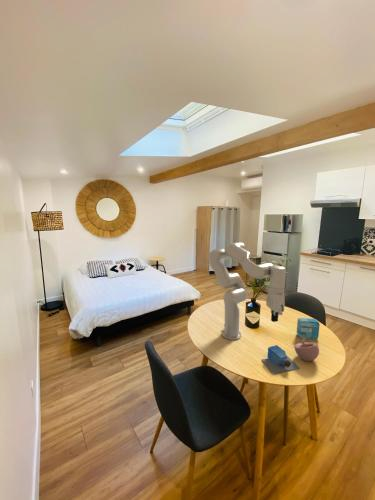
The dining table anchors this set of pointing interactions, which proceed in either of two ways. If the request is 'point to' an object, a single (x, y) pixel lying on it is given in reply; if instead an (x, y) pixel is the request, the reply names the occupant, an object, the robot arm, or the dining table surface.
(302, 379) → the dining table surface
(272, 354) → the perfume bottle
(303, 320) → the data package
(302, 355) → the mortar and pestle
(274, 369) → the slate mat
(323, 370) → the dining table surface
